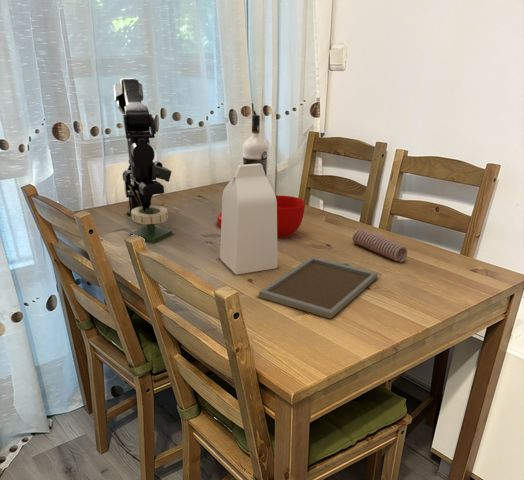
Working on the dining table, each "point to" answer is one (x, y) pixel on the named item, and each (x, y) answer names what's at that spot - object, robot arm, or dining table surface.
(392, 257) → the coil
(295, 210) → the ceramic cup
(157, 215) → the ring
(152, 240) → the peg stand
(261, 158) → the vodka
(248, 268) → the milk
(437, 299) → the dining table surface
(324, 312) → the grey picture frame
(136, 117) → the robot arm
